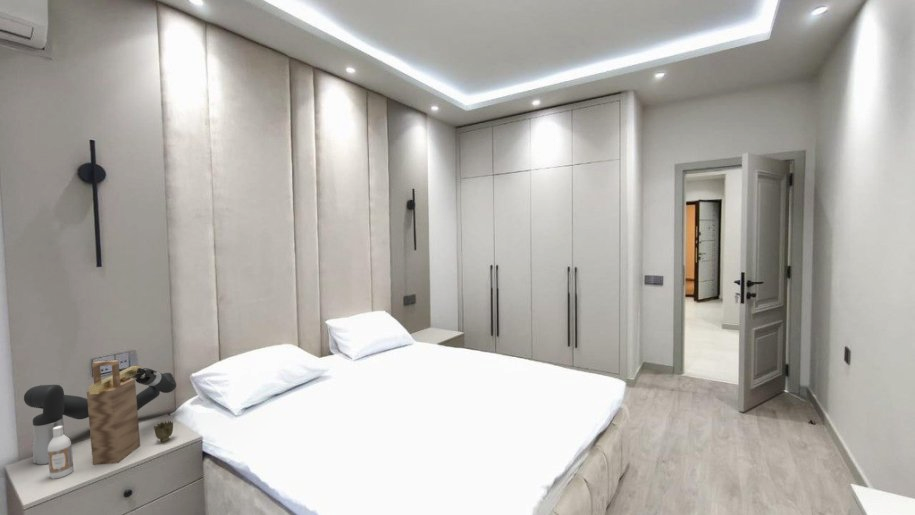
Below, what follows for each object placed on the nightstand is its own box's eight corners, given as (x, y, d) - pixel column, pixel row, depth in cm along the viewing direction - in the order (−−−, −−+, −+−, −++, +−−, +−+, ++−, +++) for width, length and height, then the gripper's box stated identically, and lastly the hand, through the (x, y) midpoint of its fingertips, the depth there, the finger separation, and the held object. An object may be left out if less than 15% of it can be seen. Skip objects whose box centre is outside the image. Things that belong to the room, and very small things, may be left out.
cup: (166, 444, 185) (165, 428, 185) (151, 445, 185) (149, 428, 185) (178, 436, 192) (176, 420, 192) (163, 436, 193) (161, 420, 192)
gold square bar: (89, 394, 165) (88, 386, 165) (132, 373, 191) (131, 366, 191) (98, 393, 166) (98, 385, 165) (140, 372, 191) (139, 365, 191)
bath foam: (47, 481, 159) (43, 433, 158) (52, 473, 165) (48, 426, 163) (71, 475, 163) (67, 428, 161) (75, 467, 168) (71, 421, 167)
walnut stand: (92, 465, 170) (84, 365, 167) (116, 447, 183) (109, 355, 181) (118, 462, 171) (110, 364, 168) (140, 445, 185) (133, 354, 182)
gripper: (162, 383, 199) (142, 378, 185) (131, 386, 197) (108, 380, 183) (165, 368, 203) (146, 361, 188) (135, 370, 201) (113, 363, 186)
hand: (128, 370), depth 186 cm, fingers open, 8 cm apart
